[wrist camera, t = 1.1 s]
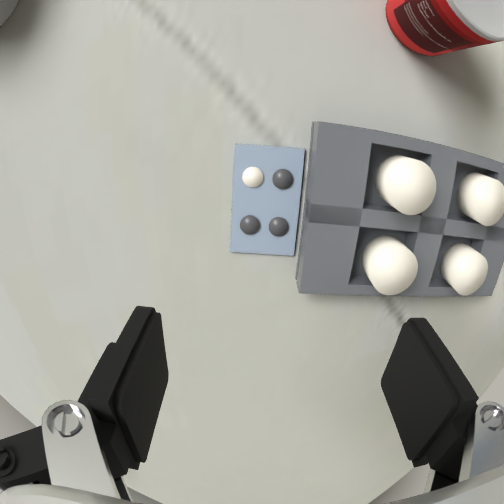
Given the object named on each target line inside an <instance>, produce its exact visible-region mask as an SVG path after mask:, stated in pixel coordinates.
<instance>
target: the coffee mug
mask: <svg viewBox="0 0 504 504" xmlns="http://www.w3.org/2000/svg"><path fill="white" fill-rule="evenodd" d="M18 2H19V0H0V27H1V26H2V25H3V24H4V23H5V22H6V20H7V19H8V18H9V16H10V15H11V14H12V12H13V11H14V9H15V7H16V6H17V4H18Z"/></svg>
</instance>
